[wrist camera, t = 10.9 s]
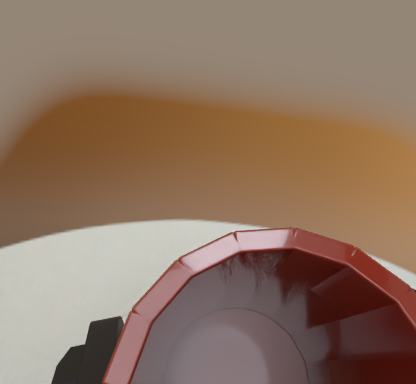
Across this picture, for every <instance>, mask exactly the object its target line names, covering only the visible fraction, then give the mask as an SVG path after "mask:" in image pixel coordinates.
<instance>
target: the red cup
mask: <svg viewBox="0 0 416 384" xmlns="http://www.w3.org/2000/svg"><path fill="white" fill-rule="evenodd" d="M102 384H416V292H415V291H414V290H413V289H410V286H409V285H408V284H406V283H405V282H404V281H402V280H401V279H400V278H398V277H397V276H395V275H394V274H393V273H391V272H390V271H389V270H387V269H386V268H384V267H383V266H382V265H380V264H379V263H378V262H376V261H375V260H374V259H372V258H371V257H369V256H368V255H367V254H365V253H364V252H363V251H361V250H360V249H359V248H357V247H354V246H353V245H350V244H347V243H343V242H340V241H337V240H334V239H330V238H327V237H324V236H321V235H318V234H314V233H311V232H308V231H305V230H301V229H298V228H291V227H290V228H275V229H260V230H245V231H235V232H234V233H233V232H231V233H229V234H227V235H225V236H222V237H220V238H218V239H216V240H214V241H212V242H210V243H208V244H206V245H204V246H202V247H200V248H198V249H196V250H194V251H192V252H189V253H187V254H185V255H183V256H181V257H179V259H178V260H176V261H174V262H173V264H172V265H171V266H170V267H169V268H168V269H167V270H166V271H165V272H164V273H163V274H162V276H161V277H160V278H159V279H158V280H157V281H156V282H155V283H154V284H153V285H152V287H151V288H150V289H149V290H148V291H147V292H146V293H145V294H144V295H143V296H142V298H141V299H140V300H139V301H138V302H137V303H136V304H135V305H134V306H133V308H132V311H130V312H129V314H128V317H127V319H126V322H125V324H124V327H123V329H122V332H121V334H120V337H119V339H118V342H117V344H116V347H115V349H114V352H113V354H112V357H111V359H110V362H109V364H108V367H107V369H106V372H105V374H104V377H103V379H102Z"/></svg>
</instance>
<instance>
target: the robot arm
mask: <svg viewBox="0 0 416 384" xmlns="http://www.w3.org/2000/svg"><path fill="white" fill-rule="evenodd" d="M410 289H412V288H410ZM413 290H414V289H413ZM414 291H415V292H416V290H414ZM123 327H124V323H123V320H122V317H121V316H119V317H113V318H108V319H103V320H98V321H92V322H91V323H90V326H89V330H88V334H87V339H86V343H85V345H80V346H75V347H71V348H70V349H69V350H68V352H67V353H66V354H65V356H64V357H63V358H62V360H61V361H60V362H59V364H58V365H57V367H56V370H55V374H54V377H53V380H52V383H51V384H102V379H103V377H104V374H105V372H106V369H107V367H108V364H109V362H110V359H111V357H112V354H113V352H114V349H115V347H116V344H117V342H118V339H119V337H120V334H121V332H122V329H123Z"/></svg>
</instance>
